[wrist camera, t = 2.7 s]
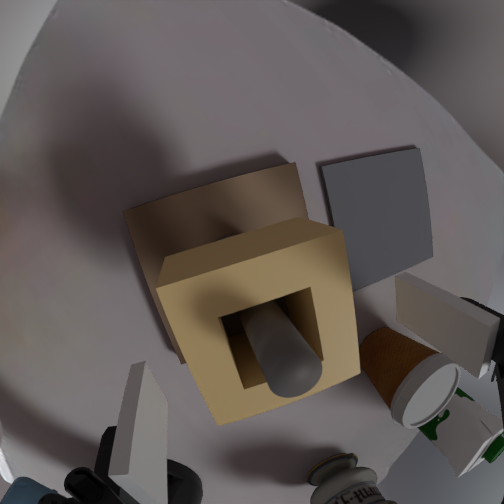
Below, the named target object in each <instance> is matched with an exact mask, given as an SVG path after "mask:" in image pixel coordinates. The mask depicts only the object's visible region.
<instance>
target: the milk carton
mask: <svg viewBox="0 0 504 504" xmlns="http://www.w3.org/2000/svg"><path fill="white" fill-rule="evenodd" d="M417 428H419V430H420V431H421V432H423V434H424V435H425V436H426V437H427V438H428V439H429V440H430V441H431V442H432V443H433V444H434V445H435V446H436V447H437V448H438V449H439V450H440V451H441V452H442V454H443V455H444V456H445V457H446V458H447V459H448V461H449V463H450V465H451V467H452V468H453V470H454V472H455V474H456V476H457V478H458V477H459V476H461V475H462V474H464V473H465V472H468V471H470V470H471V469H472V468H473V467H474V466H476V465H477V464H478V463H480V462H481V461H482V460H484V459H486V460H487V461H488V462H489V463H492V462H493V461H494V460H495V459H496V458H497V457H498V456H499V455H500V454H501V453H502V452H503V450H504V438H503V437H502V434H503V433H504V431H503V420H502V419H500V418H498V417H497V416H495V415H493V414H492V413H490V412H489V411H487V410H486V409H485V408H484V407H482V406H481V405H480V404H478V403H477V402H476V401H475V400H473V399H472V398H471V397H470V396H468V395H467V394H466V393H465V392H463V391H462V390H461V389H459V388H458V387H457V389H456V391H455V393H454V395H453V396H452V398H451V399H450V401H449V402H448V403H447V405H446V406H445V407H444V408H443V409H442V410H441V411H440V412H439V413H438V414H437V415H436V416H435V417H434V418H433V419H431V420H430V421H429V422H427V423H425V424H424V425H422V426H420V427H417Z"/></svg>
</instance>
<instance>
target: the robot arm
mask: <svg viewBox="0 0 504 504" xmlns="http://www.w3.org/2000/svg"><path fill="white" fill-rule="evenodd" d="M395 288H396V309H397V321H399V322H400V323H401V324H403V325H404V326H406V327H407V328H408V329H410V330H411V331H413V332H414V333H415V334H417V335H418V336H420V337H421V338H423V339H424V340H425V341H427V342H428V343H429V344H431V345H432V346H434V347H435V348H436V349H438V350H439V351H441V352H442V353H443V354H445V355H446V356H447V357H449V358H450V359H452V360H453V361H454V362H456V363H457V364H458V365H460V366H461V367H463V368H464V369H465V370H467V371H468V372H469V373H471V374H472V375H473V376H475V377H476V378H477V379H479V378H480V377H481V376H483V375H484V374H485V373H486V372H487V371H488V370H489V367H490V363H491V360H493V361H494V362H496V365H495V368H494V371H493V375H492V378H491V382H493V381H494V377H495V376H496V378H497V380H496V381H497V383H498V390H499V396H500V403H501V411H502V420H503V431H504V315H502V314H500V313H498V312H496V311H494V310H492V309H490V308H488V307H485V306H484V305H482V304H479V303H478V302H476V301H474V300H472V299H469V298H464V297H460V298H459V297H457V296H455V295H453V294H451V293H449V292H447V291H445V290H443V289H441V288H439V287H437V286H435V285H432V284H430V283H428V282H426V281H424V280H422V279H420V278H418V277H415V276H413V275H411V274H409V273H407V272H404V273H402V274H399V275H397V276H395ZM167 419H168V401H167V399H166V398H165V396H164V394H163V392H162V391H161V389H160V387H159V385H158V384H157V382H156V380H155V378H154V376H153V374H152V372H151V371H150V369H149V367H148V365H147V363H146V361H144V362H140V363H136V364H132V365H131V368H130V372H129V376H128V380H127V384H126V388H125V392H124V397H123V401H122V405H121V410H120V414H119V419H118V424H117V426H111V427H108V428H107V429H106V431H105V432H104V434H103V435H102V438H101V442H100V447H99V451H98V454H99V455H97V460H96V464H95V469H94V472H93V471H91V470H90V469H89V468H85V467H81V468H76V469H74V470H72V471H71V472H70V473H69V474H68V475H67V477H66V478H65V481H64V487H65V491H67V492H68V493H69V494H70V495H71V496H73V497H72V498H66V497H64V496H62V495H60V494H59V493H58V491H56V490H54V489H49V488H48V487H46V486H44V485H42V484H40V483H38V482H36V481H35V480H33V479H31V478H28V477H18V478H16V479H15V480H14V482H13V483H12V484H11V486H10V487H9V489H8V491H7V492H6V494H5V495H4V497H3V499H2V500H1V502H0V504H201V500H202V497H203V489H202V482H201V479H200V478H199V476H198V475H197V474H196V473H195V472H194V471H192V470H191V469H189V468H187V467H185V466H183V465H181V464H178V463H176V462H173V461H169V460H167ZM501 504H504V498H503V501H502V503H501Z"/></svg>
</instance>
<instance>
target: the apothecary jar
mask: <svg viewBox="0 0 504 504" xmlns="http://www.w3.org/2000/svg"><path fill="white" fill-rule="evenodd" d="M357 461H358V458H357V456H356V455H355V454H349V455H346V454H345V453H344V454H339V455H335V456H333V457H330V458H328V459H326V460H324V461H322V462H321V463H319V464H318V465H316V466H315V467H314V468H313V469H312V470H311V471H310V472H309V474H308V476H307V482H308V483H309V484H310V485H313V486H318V487H317V488H316V489H315V490H314V492H313V494H312V496H311V499H310V503H311V504H397V503H396V502H394V501H390V500H387V501H386V500H385V499H384V497H383V496H382V495H381V493H380V492H379V490H378V489H377V487H376V483H377V475H376V473H375V472H374V471H373V470H372V469H370V468H367V467H356V465H357Z"/></svg>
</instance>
